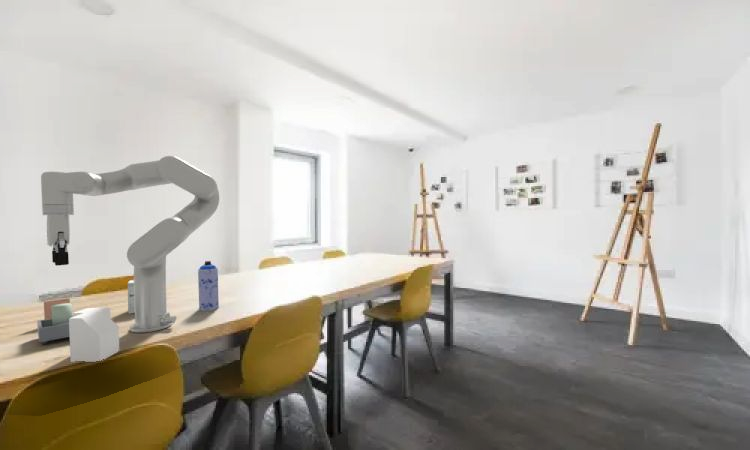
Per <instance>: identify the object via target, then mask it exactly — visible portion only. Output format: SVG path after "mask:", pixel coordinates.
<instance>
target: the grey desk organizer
mask: <svg viewBox="0 0 750 450" xmlns="http://www.w3.org/2000/svg"><path fill="white" fill-rule="evenodd" d="M70 301H71V299H70V297H66V298H57V299H52V300H51V299H50V300H44V301H43V313H44V314H43V317H44V319H40V320H37V321H36V322H37V323H36V324H37V325H36V326H37V337H38V341H39V343H41V344H42V345H47V344H48V342H50V341H56V340H60V339H65V338H70V333H69V323H66V324H60V325H54V326H53V324H52V309H51V306H54V305H58V304H64V303H71V302H70Z"/></svg>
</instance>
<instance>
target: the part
mask: <svg viewBox="0 0 750 450" xmlns="http://www.w3.org/2000/svg"><path fill="white" fill-rule="evenodd" d="M51 309H52V324H53V326H54V325H60V324H66V323H69V318H72V317H73V313H74V312H73V304H72V303H71V302H70V303H64V304H58V305H54V306H51Z"/></svg>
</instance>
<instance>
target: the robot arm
mask: <svg viewBox="0 0 750 450" xmlns="http://www.w3.org/2000/svg"><path fill="white" fill-rule="evenodd" d="M40 180H41V181H40V186H41V209H42V216H46V242H47V243H46V244H47V246H49V247H52V251H51V256H52V257H51V259H52V261H51V262H52V263H53V264H54V265H55V266H58V267H59V266H68V265H69V264H70V261H69V250H68V246H69V245H70V235H71V234H70V231H71V230H70V225H71V224H70V216H74V213H75V212H74V194H75V195H81V196H82V195H83V196H88V197H89V196H90V197H97V196H105V195H111V194H116V193H122V192H128V191H134V190H139V189H144V188H145V189H146V188H151V187H157V186H162V185H169V184H173V185H174V186H176V187H179V188H180V189H182V190H184V191H186V192H188V193H189V194H192V195H193V196H194V199H192V201H191V202H189V203H188V204H186V205H185V206H184V207H183V208H182V209H181V210H180V211H178V212H177V213H176V214H174V215H172V216H171V217H167V218H165V219H163V220H161V221H160V222H158V223H157V224H156V225H154V226H153V227H152V228H150V229H149V230H148V231H146V233H144V234H143V235H141V236H140V237H139V238H137V239H136V240H135V241H134V242H132V243H131V245H130V246H129V247H128V249H127V253H126V258H127V261H128V263H130V264H131V266H133V280H134V305H135V313H134V323H133V324H132V325H130V326H129V331H130V332H132V333H151V332H158V331H160V330H164V329H166V328H170V326H172V324H175V323H176V320H177V316H171V315H170V314H171V313H170V312H169V311H167V307H168V306H167V275H166V274H167V270H166V267H167V256H168V255H169V254H170V253H172V252H173V251H174V250H175V249H176V248H178V247H179V246H180V245H181V244H183V243H184V242H185V241H187V239H188V238H189V237H190V236H191V235H192V234H193V233H194V232H196V231H197V230H198V229H199V228H200V227H201V226H202V225H204V223H206V222H207V221H208V220H209V219H210V218H212V216H213V215H214V214H215V212H216V211H217V209H218V206H219V203H220V192H219V188H218V184H217V182H216V180H215V178H214V177H212V176H211V175H209V174H207V173H205V172H204V171H202V170H200V169H198V168H197V167H195V166H193V165H191V164H189V163H188V162H187V161H185V160H183V159H181V158H179V157H177V156H174V155H165V156H163V157H161V158H160V159H159V160H153V161H146V162H138V163H132V164H129V165H127V166H126V167H123V168H121V169H119V170H118V169H117V170H115V171H110V172H101V173H92V172H88V171H73V172H72V171H69V172H65V171H64V172H63V171H45V172H42V173H41V175H40ZM130 264H129V265H130Z"/></svg>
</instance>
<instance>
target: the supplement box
mask: <svg viewBox="0 0 750 450" xmlns="http://www.w3.org/2000/svg"><path fill="white" fill-rule="evenodd" d="M127 312H128V313H127V314H128V315H131V314H135V305H134V279H131V280H129V281H128V282H127Z"/></svg>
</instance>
